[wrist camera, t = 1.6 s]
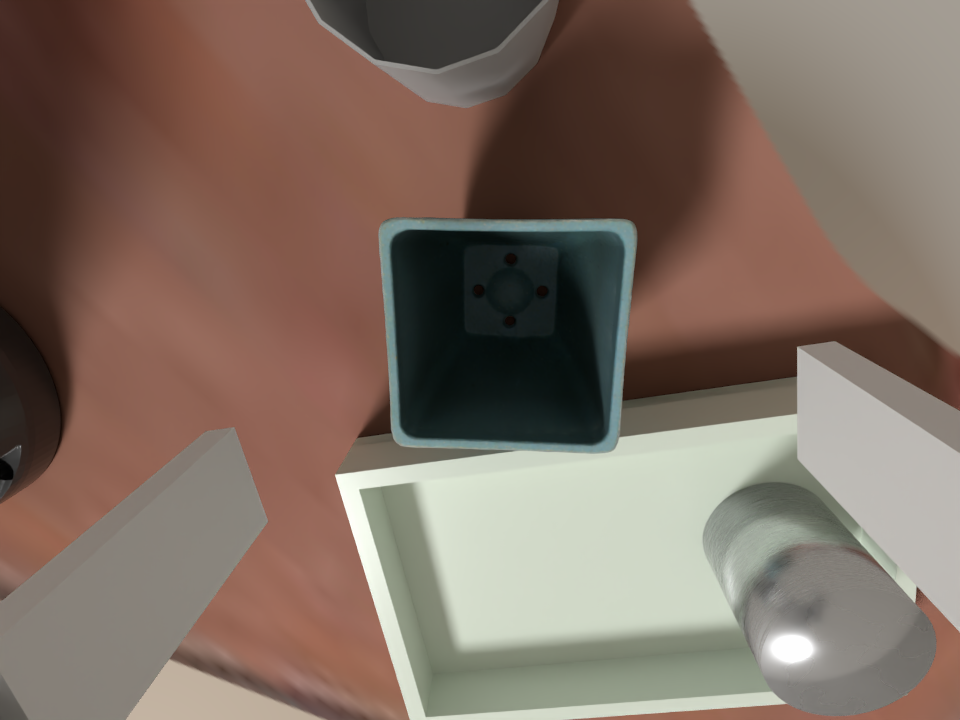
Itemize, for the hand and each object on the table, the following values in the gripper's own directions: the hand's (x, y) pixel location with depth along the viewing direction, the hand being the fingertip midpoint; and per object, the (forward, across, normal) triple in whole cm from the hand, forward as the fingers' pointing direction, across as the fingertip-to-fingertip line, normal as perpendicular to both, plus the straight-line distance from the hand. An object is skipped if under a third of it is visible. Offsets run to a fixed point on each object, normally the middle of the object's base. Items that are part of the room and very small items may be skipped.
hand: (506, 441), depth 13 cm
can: (+15, +12, -16) cm, 25 cm away
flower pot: (+16, 0, 0) cm, 17 cm away
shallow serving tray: (+16, +4, -16) cm, 23 cm away
